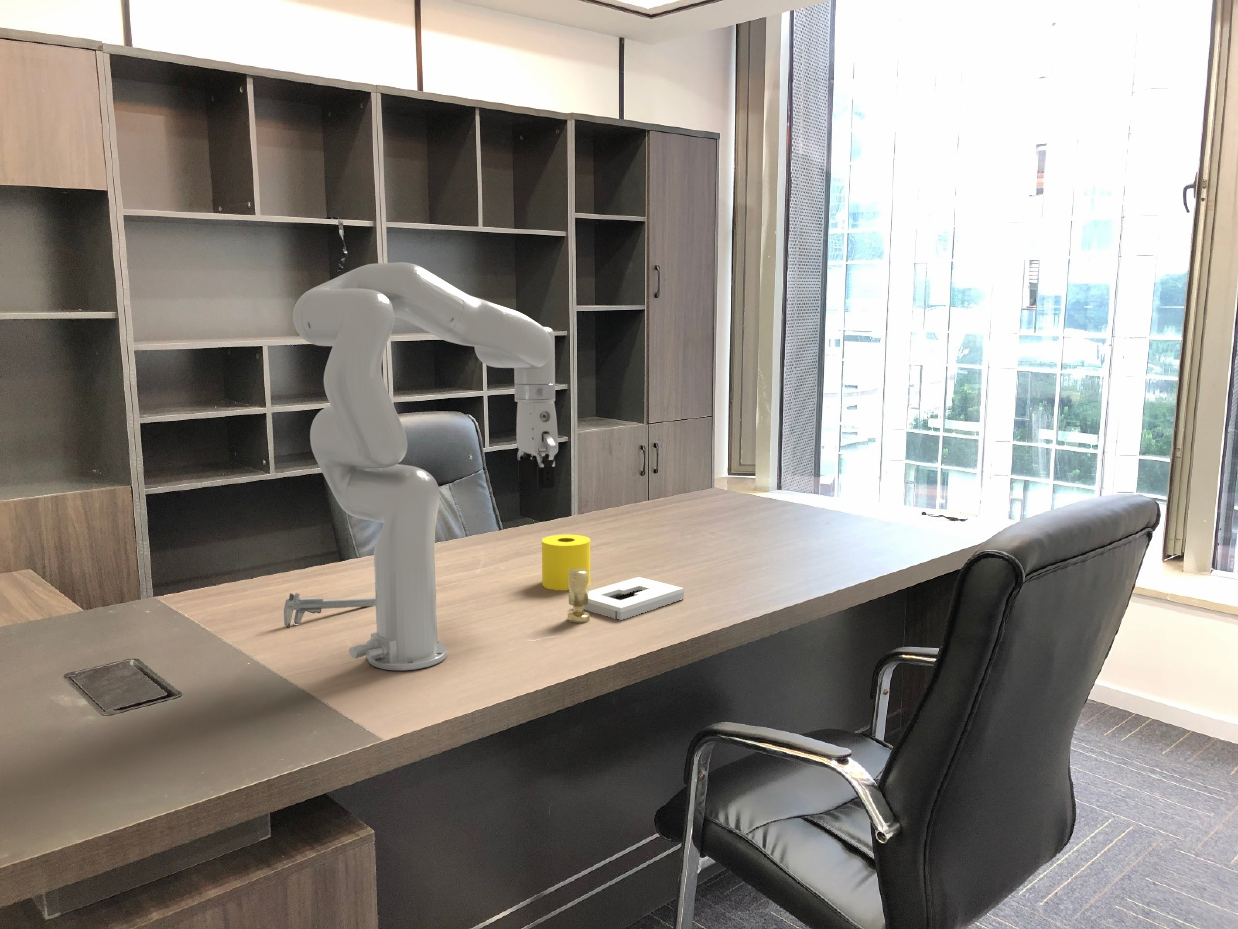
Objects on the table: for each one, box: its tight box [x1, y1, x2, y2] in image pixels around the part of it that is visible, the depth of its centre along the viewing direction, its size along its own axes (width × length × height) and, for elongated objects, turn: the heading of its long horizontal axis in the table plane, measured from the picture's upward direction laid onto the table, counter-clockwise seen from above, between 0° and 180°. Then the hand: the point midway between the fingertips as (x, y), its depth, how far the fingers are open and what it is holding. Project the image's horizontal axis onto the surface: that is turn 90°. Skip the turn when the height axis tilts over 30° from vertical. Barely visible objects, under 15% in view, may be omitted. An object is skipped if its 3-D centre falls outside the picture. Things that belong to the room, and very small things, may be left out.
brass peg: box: [567, 569, 591, 624], centre depth 173 cm, size 4×4×9 cm
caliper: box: [283, 592, 376, 627], centre depth 176 cm, size 20×1×6 cm, turn 139°
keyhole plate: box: [584, 576, 685, 621], centre depth 184 cm, size 18×12×2 cm, turn 137°
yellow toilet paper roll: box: [541, 534, 591, 591], centre depth 197 cm, size 10×10×9 cm
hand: (535, 483), depth 179 cm, fingers open, 9 cm apart
